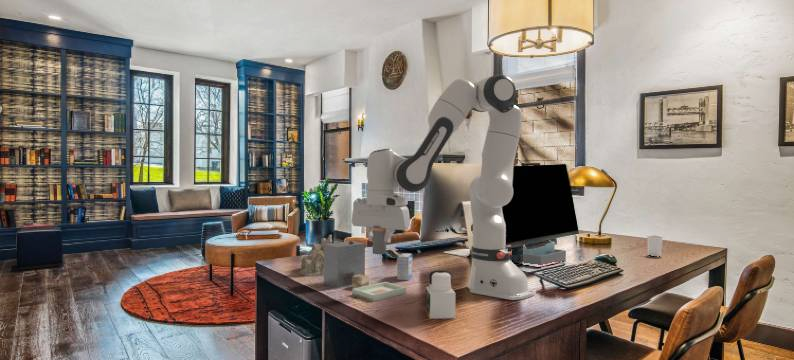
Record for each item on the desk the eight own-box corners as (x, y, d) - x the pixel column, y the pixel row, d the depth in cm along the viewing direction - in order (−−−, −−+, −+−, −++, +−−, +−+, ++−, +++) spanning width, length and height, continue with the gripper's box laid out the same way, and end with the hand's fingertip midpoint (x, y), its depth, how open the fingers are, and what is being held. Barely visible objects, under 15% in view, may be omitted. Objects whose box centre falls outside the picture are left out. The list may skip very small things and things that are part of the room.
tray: (406, 293, 146) (406, 287, 146) (372, 301, 136) (372, 295, 136) (385, 287, 153) (385, 281, 153) (352, 294, 143) (352, 288, 143)
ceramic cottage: (326, 264, 189) (325, 230, 188) (343, 273, 176) (342, 236, 174) (290, 271, 181) (289, 234, 180) (305, 281, 167) (303, 241, 166)
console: (364, 282, 160) (365, 241, 159) (337, 288, 151) (337, 245, 151) (350, 278, 166) (350, 239, 166) (323, 283, 158) (323, 242, 157)
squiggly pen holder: (524, 265, 195) (524, 244, 194) (510, 261, 204) (511, 240, 204) (557, 263, 201) (558, 242, 201) (543, 259, 210) (543, 239, 210)
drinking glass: (663, 257, 213) (664, 237, 213) (647, 256, 216) (648, 236, 216) (661, 255, 220) (661, 235, 219) (645, 254, 222) (646, 234, 222)
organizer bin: (565, 261, 202) (565, 250, 202) (540, 268, 187) (540, 256, 187) (537, 257, 212) (537, 246, 212) (511, 263, 197) (511, 251, 197)
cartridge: (388, 252, 145) (389, 225, 145) (381, 254, 141) (382, 226, 141) (377, 251, 147) (377, 224, 147) (369, 253, 143) (370, 225, 143)
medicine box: (408, 280, 163) (408, 257, 163) (396, 280, 164) (396, 256, 164) (412, 276, 171) (412, 253, 171) (400, 275, 172) (401, 252, 172)
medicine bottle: (425, 311, 127) (425, 269, 127) (450, 310, 128) (450, 268, 128) (429, 319, 120) (429, 274, 120) (455, 318, 121) (455, 274, 121)
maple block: (368, 287, 154) (368, 275, 154) (361, 289, 151) (361, 277, 150) (359, 285, 156) (359, 274, 156) (352, 287, 153) (352, 276, 153)
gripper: (348, 198, 146) (347, 240, 147) (402, 200, 136) (402, 246, 137) (359, 197, 152) (358, 238, 152) (412, 199, 142) (411, 243, 142)
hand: (379, 241), depth 144 cm, fingers closed on cartridge, 4 cm apart
